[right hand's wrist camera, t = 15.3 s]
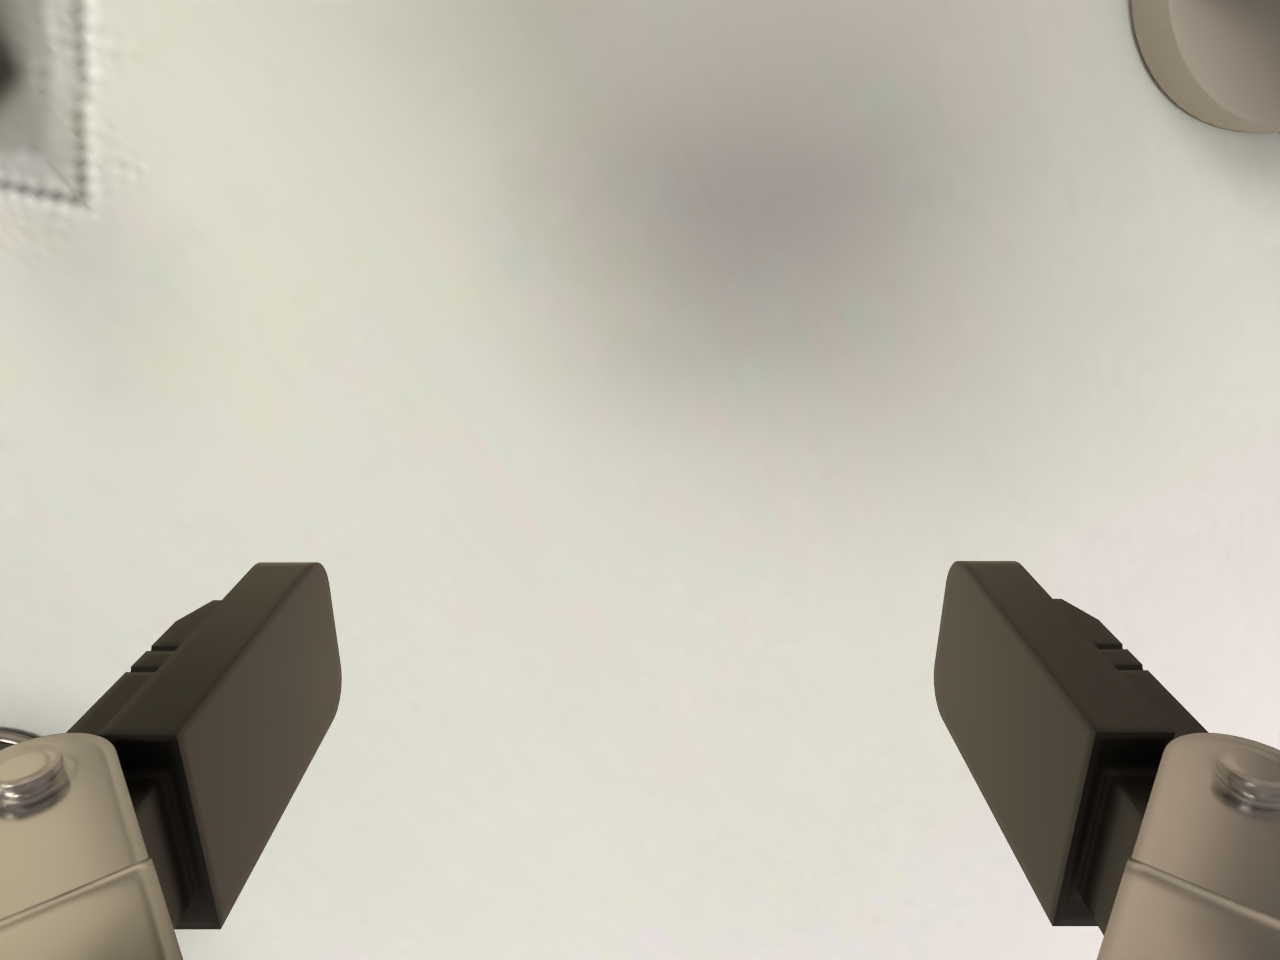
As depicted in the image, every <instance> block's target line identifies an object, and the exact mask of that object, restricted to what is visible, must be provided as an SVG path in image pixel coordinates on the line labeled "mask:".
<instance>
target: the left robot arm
mask: <svg viewBox="0 0 1280 960" xmlns="http://www.w3.org/2000/svg"><path fill="white" fill-rule="evenodd" d="M31 739H34V738H32V737H30V736H26V735H23V734H20V733H15V732H10V731H3V730H0V750H2V749H5V748H7V747H10V746H12V745H15V744H18V743H21V742H24V741H27V740H31Z"/></svg>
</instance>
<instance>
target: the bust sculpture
mask: <svg viewBox="0 0 1280 960" xmlns="http://www.w3.org/2000/svg"><path fill="white" fill-rule="evenodd" d="M1131 7H1132V17H1133V24H1134V29H1135V33H1136V38H1137V41H1138V45H1139V47H1140V50H1141V53H1142V56H1143V58H1144V60H1145V62H1146V65H1147V67H1148V68H1149V70H1150V72H1151V74H1152V75H1153V77H1154V79H1155V80H1156V82H1157V83H1158V85H1159V86H1160V87H1161V88H1162V90H1163V91H1164V92H1165V93H1166V94H1167V95H1168V96H1169V97H1170V98H1171V99H1172V100H1173V101H1174V102H1175V103H1176V104H1177V105H1178V106H1180V107H1181V108H1182V109H1183V110H1185V111H1186V112H1188V113H1189V114H1191V115H1192V116H1194V117H1196V118H1198V119H1200V120H1202V121H1204V122H1206V123H1208V124H1211V125H1214V126H1217V127H1220V128H1224V129H1228V130H1233V131H1239V132H1251V133H1264V132H1280V0H1131Z"/></svg>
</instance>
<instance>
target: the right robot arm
mask: <svg viewBox="0 0 1280 960" xmlns="http://www.w3.org/2000/svg"><path fill="white" fill-rule="evenodd" d="M151 647H152V649H151V651H146V652H145V653H144V654H143V655H142V656H141V657H140V658H139V659H138V660H137V661H136V662H135V663H134V664H133V665H132V666H131V672H126V673H125V674H124V675H123V676H122V677H121V678H120V679H119V680H118V681H117V682H116V683H115V684H114V685H113V686H112V687H111V688H110V689H109V690H108V691H107V692H106V693H105V694H104V695H103V696H102V697H101V698H100V699H99V700H98V701H97V702H96V703H95V704H94V705H93V706H92V707H91V708H90V709H89V710H88V711H87V712H86V713H85V714H84V715H83V716H82V717H81V718H80V719H79V720H78V721H77V722H76V723H75V724H74V725H73V726H72V727H71V728H70V729H69V730H68V731H67V733H62V734H54V735H48V736H43V737H38V738H34V739H31V740H27V741H24V742H21V743H18V744H15V745H12V746H10V747H7V748H5V749H2V750H0V960H183V958H182V954H181V951H180V948H179V945H178V941H177V938H176V935H175V932H174V929H221V928H222V926H223V924H224V922H225V920H226V918H227V917H228V915H229V913H230V911H231V909H232V907H233V905H234V904H235V902H236V900H237V898H238V896H239V894H240V892H241V891H242V889H243V887H244V885H245V883H246V881H247V879H248V878H249V876H250V874H251V872H252V870H253V868H254V866H255V865H256V863H257V861H258V859H259V857H260V855H261V853H262V852H263V850H264V848H265V846H266V844H267V842H268V840H269V839H270V837H271V835H272V833H273V831H274V829H275V827H276V826H277V824H278V822H279V820H280V818H281V816H282V814H283V812H284V811H285V809H286V807H287V805H288V803H289V801H290V799H291V798H292V796H293V794H294V792H295V790H296V788H297V786H298V785H299V783H300V781H301V779H302V777H303V775H304V773H305V772H306V770H307V768H308V766H309V764H310V762H311V760H312V759H313V757H314V755H315V753H316V751H317V749H318V747H319V746H320V744H321V742H322V740H323V738H324V736H325V734H326V733H327V731H328V729H329V727H330V725H331V723H332V721H333V719H334V717H335V715H336V712H337V709H338V705H339V700H340V694H341V680H342V677H341V664H340V657H339V650H338V643H337V636H336V629H335V622H334V615H333V608H332V601H331V594H330V587H329V581H328V577H327V573H326V571H325V569H324V567H323V566H322V565H321V564H320V563H257V564H256V565H254V566H253V567H252V568H251V569H250V571H249V572H248V573H247V574H246V575H245V576H244V577H243V578H242V579H241V580H240V581H239V582H238V583H237V585H236V586H235V587H234V588H233V589H232V590H231V591H230V592H229V593H228V594H227V595H226V596H225V597H224V599H223V600H213V601H211V602H209V603H208V604H206V605H204V606H202V607H201V608H199V609H197V610H195V611H194V612H192V613H190V614H188V615H186V616H185V617H183V618H181V619H179V620H178V621H176V622H175V623H174V624H173V625H172V626H171V627H170V628H169V629H168V630H167V631H166V632H165V633H164V634H163V635H162V636H161V637H160V638H159V639H158V640H157V641H156V642H155V643H154V644H153V645H152V646H151ZM934 688H935V696H936V701H937V705H938V709H939V712H940V715H941V717H942V719H943V721H944V723H945V725H946V727H947V728H948V730H949V732H950V734H951V736H952V738H953V740H954V742H955V744H956V745H957V747H958V749H959V751H960V753H961V755H962V757H963V759H964V760H965V762H966V764H967V766H968V768H969V770H970V772H971V774H972V775H973V777H974V779H975V781H976V783H977V785H978V787H979V789H980V791H981V792H982V794H983V796H984V798H985V800H986V802H987V804H988V806H989V807H990V809H991V811H992V813H993V815H994V817H995V819H996V821H997V823H998V824H999V826H1000V828H1001V830H1002V832H1003V834H1004V836H1005V838H1006V839H1007V841H1008V843H1009V845H1010V847H1011V849H1012V851H1013V853H1014V855H1015V856H1016V858H1017V860H1018V862H1019V864H1020V866H1021V868H1022V870H1023V871H1024V873H1025V875H1026V877H1027V879H1028V881H1029V883H1030V885H1031V886H1032V888H1033V890H1034V892H1035V894H1036V896H1037V898H1038V900H1039V902H1040V903H1041V905H1042V907H1043V909H1044V911H1045V913H1046V915H1047V917H1048V918H1049V920H1050V922H1051V924H1052V926H1099V928H1100V930H1101V931H1102V933H1103V935H1104V938H1103V941H1102V945H1101V948H1100V951H1099V954H1098V958H1097V960H1280V750H1278V749H1275V748H1273V747H1270V746H1268V745H1265V744H1262V743H1259V742H1256V741H1253V740H1249V739H1246V738H1242V737H1237V736H1232V735H1226V734H1218V733H1208V732H1207V731H1206V730H1205V729H1204V728H1203V727H1202V726H1201V724H1200V723H1199V722H1198V721H1197V720H1196V719H1195V718H1194V717H1193V716H1192V715H1191V714H1190V713H1189V712H1188V711H1187V710H1186V709H1185V708H1184V707H1183V706H1182V705H1181V704H1180V703H1179V702H1178V701H1177V700H1176V699H1175V698H1174V697H1173V696H1172V695H1171V694H1170V693H1169V692H1168V691H1167V690H1166V689H1165V688H1164V687H1163V686H1162V685H1161V683H1160V682H1159V681H1158V680H1157V679H1156V678H1155V677H1154V676H1153V675H1152V674H1151V673H1150V672H1149V671H1148V670H1143V668H1142V664H1141V663H1140V662H1139V661H1138V660H1137V659H1136V658H1135V657H1134V656H1133V655H1132V654H1131V653H1130V652H1129V651H1128V650H1127V649H1123V648H1122V644H1121V642H1120V641H1119V640H1118V639H1117V638H1116V637H1115V636H1114V635H1113V634H1112V633H1111V632H1110V631H1109V630H1108V629H1107V628H1106V627H1105V626H1104V625H1103V624H1102V623H1101V622H1100V621H1099V620H1098V619H1096V618H1094V617H1092V616H1091V615H1089V614H1087V613H1085V612H1084V611H1082V610H1080V609H1078V608H1077V607H1075V606H1073V605H1071V604H1069V603H1068V602H1066V601H1064V600H1062V599H1052V598H1051V597H1050V596H1049V595H1048V593H1047V592H1046V591H1045V590H1044V589H1043V588H1042V587H1041V586H1040V585H1039V584H1038V583H1037V581H1036V580H1035V579H1034V578H1033V577H1032V576H1031V575H1030V574H1029V573H1028V572H1027V571H1026V569H1025V568H1024V567H1023V566H1022V565H1021V564H1020V563H1018V562H1016V561H957V562H955V563H954V564H952V566H951V568H950V570H949V573H948V576H947V581H946V588H945V595H944V602H943V609H942V616H941V623H940V631H939V638H938V645H937V652H936V659H935V667H934Z"/></svg>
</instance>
